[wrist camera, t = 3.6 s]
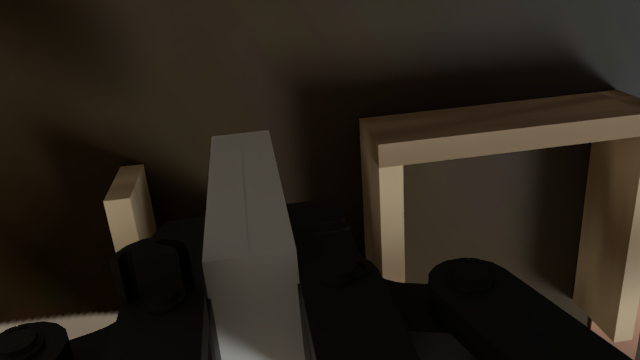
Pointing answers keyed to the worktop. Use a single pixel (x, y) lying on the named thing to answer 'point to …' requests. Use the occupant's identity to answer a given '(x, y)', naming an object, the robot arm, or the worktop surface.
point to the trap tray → (478, 140)
